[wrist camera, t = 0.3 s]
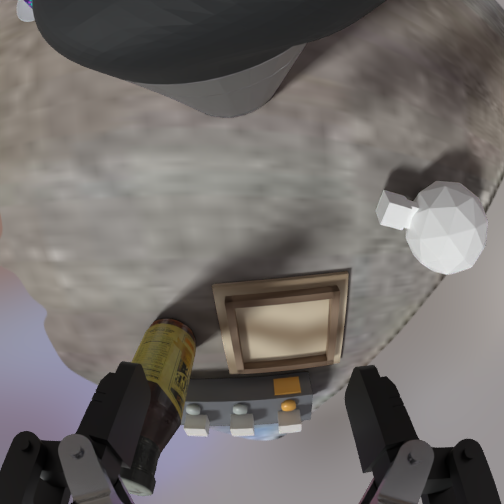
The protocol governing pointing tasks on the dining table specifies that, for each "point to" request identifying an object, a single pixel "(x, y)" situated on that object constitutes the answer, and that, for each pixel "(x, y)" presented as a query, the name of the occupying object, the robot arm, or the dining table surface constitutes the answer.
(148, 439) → the sauce bottle
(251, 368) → the square beige tray
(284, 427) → the breaker bank
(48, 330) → the dining table surface
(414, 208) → the faceted ball with stub
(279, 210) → the dining table surface
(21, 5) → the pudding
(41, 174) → the dining table surface
